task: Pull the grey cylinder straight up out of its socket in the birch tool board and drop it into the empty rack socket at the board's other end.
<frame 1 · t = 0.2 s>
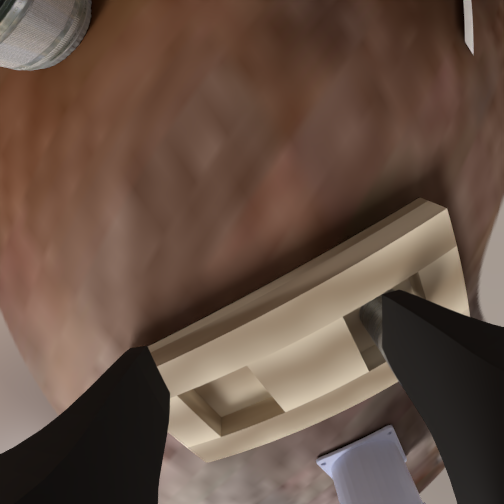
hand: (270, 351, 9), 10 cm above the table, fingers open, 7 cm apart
grey cylinder: (380, 309, 19), point 1 cm above the table, touching tool board
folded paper: (501, 17, 14), on the table
tool board: (302, 341, 21), on the table
camera lens: (53, 28, 13), on the table
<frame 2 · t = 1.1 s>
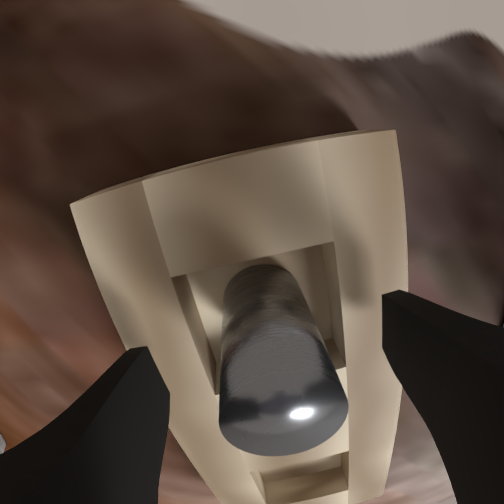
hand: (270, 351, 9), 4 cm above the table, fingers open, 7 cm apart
grey cylinder: (262, 300, 12), point 1 cm above the table, touching tool board
tool board: (282, 385, 15), on the table
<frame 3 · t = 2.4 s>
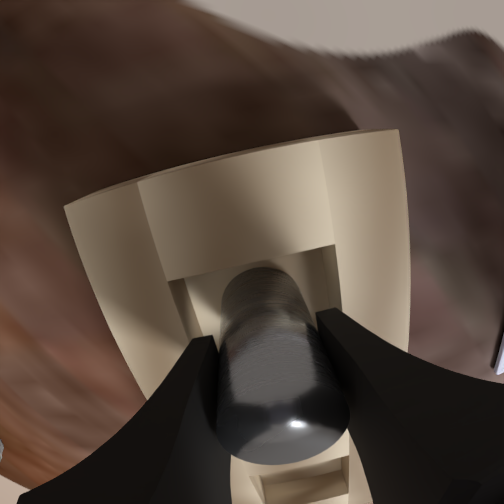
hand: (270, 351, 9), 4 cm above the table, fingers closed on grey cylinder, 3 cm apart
grey cylinder: (261, 304, 12), point 1 cm above the table, touching gripper, tool board
tool board: (282, 388, 15), on the table
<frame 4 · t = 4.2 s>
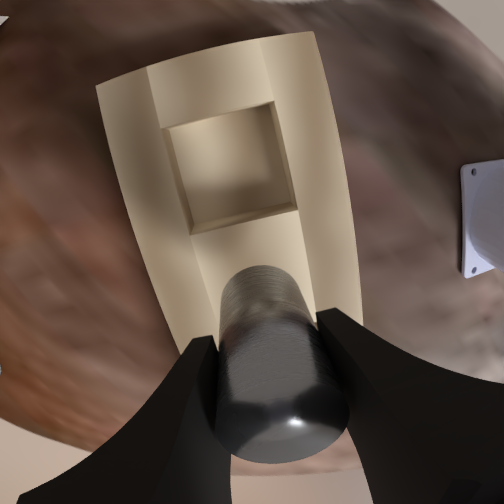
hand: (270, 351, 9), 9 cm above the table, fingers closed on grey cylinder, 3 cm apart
grey cylinder: (261, 302, 12), point 6 cm above the table, touching gripper
tool board: (254, 259, 18), on the table
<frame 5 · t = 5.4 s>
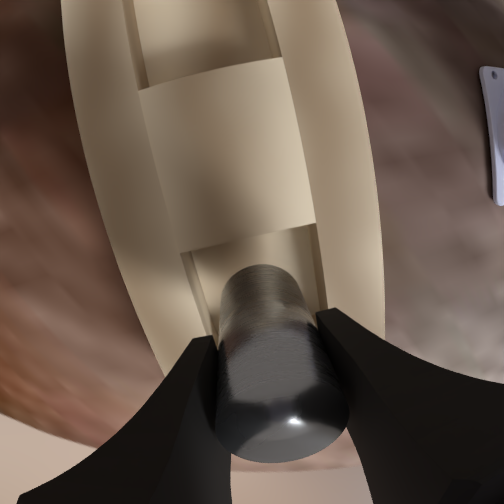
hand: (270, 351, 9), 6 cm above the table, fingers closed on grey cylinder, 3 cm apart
grey cylinder: (261, 301, 12), point 3 cm above the table, touching gripper
tool board: (229, 151, 13), on the table
when the fingers open (5 cm above the table, at t = 6.4 s): grey cylinder stays where it is, resting on tool board.
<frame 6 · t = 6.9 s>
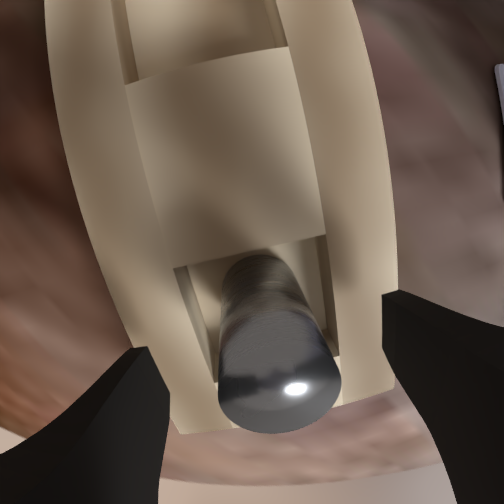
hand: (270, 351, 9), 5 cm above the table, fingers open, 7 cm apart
grey cylinder: (259, 290, 13), point 1 cm above the table, touching tool board
tool board: (228, 152, 12), on the table
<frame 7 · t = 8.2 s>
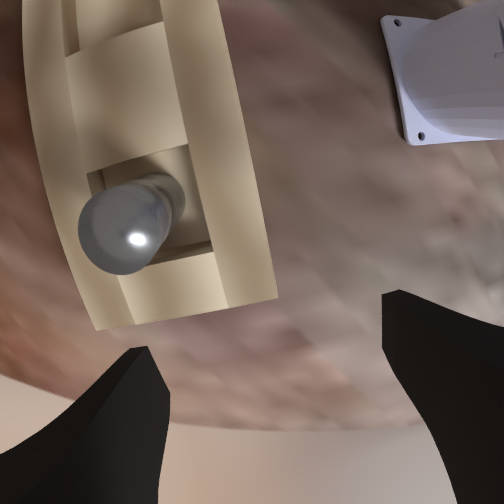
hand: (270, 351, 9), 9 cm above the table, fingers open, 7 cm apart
grey cylinder: (156, 201, 16), point 1 cm above the table, touching tool board
tool board: (138, 102, 15), on the table
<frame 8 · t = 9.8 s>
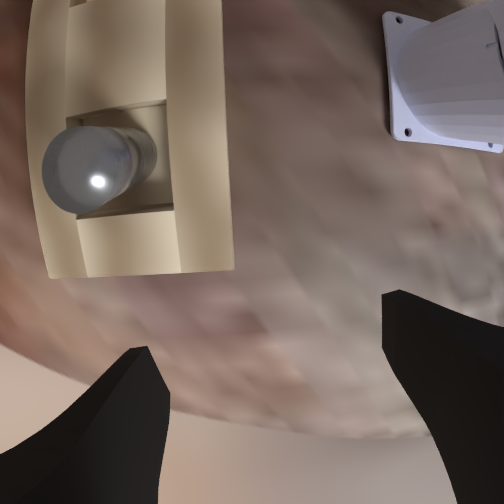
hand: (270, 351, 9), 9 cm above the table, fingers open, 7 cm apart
grey cylinder: (129, 156, 15), point 1 cm above the table, touching tool board
tool board: (130, 60, 14), on the table
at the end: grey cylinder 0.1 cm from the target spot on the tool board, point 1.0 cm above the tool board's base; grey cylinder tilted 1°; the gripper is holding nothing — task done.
